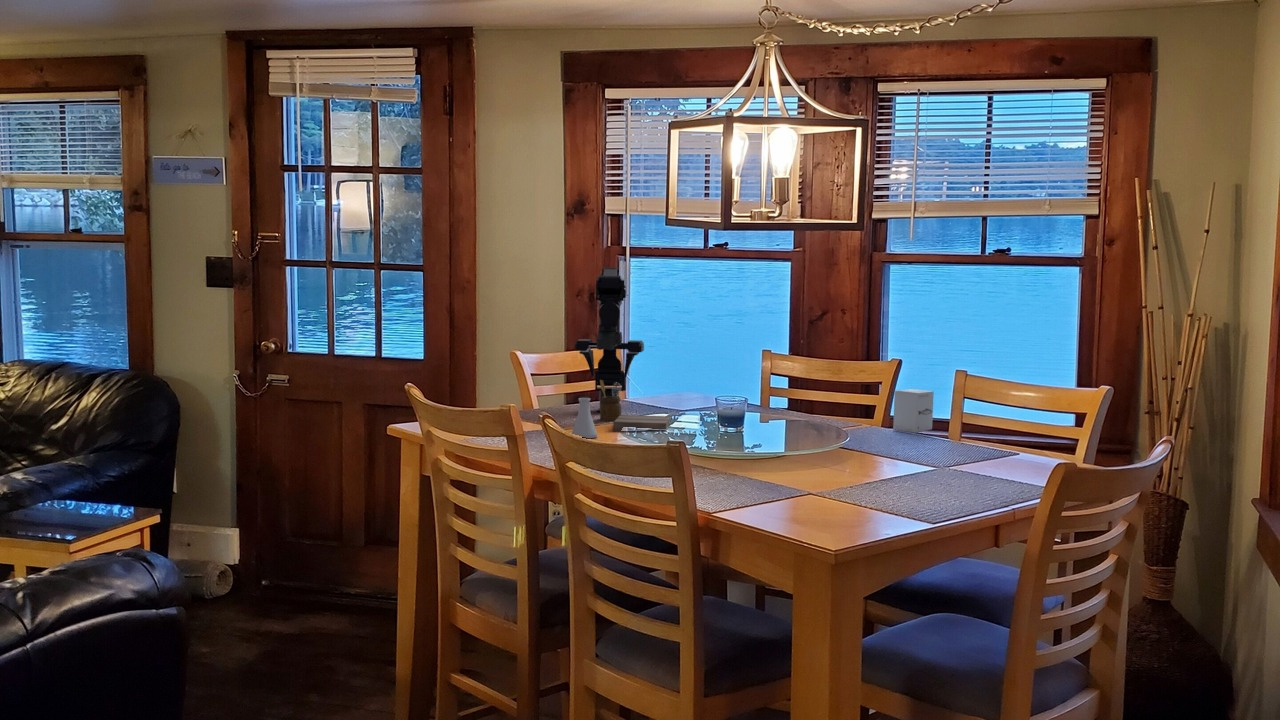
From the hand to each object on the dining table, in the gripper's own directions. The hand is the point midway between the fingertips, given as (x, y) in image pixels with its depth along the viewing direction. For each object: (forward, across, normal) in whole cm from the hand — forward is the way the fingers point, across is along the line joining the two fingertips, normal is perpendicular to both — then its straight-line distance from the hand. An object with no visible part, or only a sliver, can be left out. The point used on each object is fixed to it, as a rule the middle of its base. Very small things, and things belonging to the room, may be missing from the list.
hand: (609, 376), depth 319 cm
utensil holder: (+13, 0, +1) cm, 13 cm away
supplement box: (+12, +82, -13) cm, 84 cm away
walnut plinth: (+13, +11, -9) cm, 19 cm away
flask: (+12, -2, -28) cm, 30 cm away
